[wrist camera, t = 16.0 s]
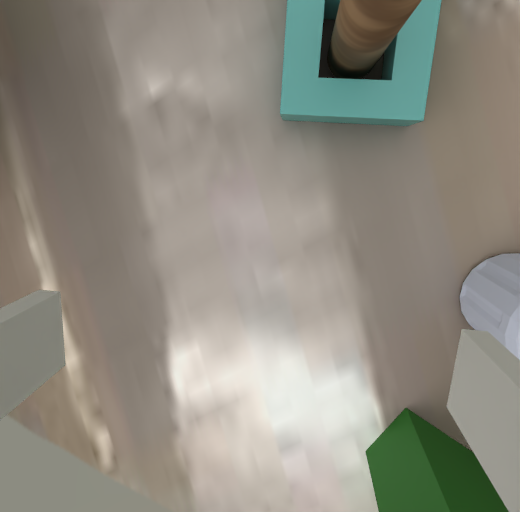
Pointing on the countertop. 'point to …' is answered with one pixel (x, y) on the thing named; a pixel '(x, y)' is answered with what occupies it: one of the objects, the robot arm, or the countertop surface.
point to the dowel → (365, 34)
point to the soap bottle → (495, 299)
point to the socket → (357, 90)
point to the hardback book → (427, 471)
